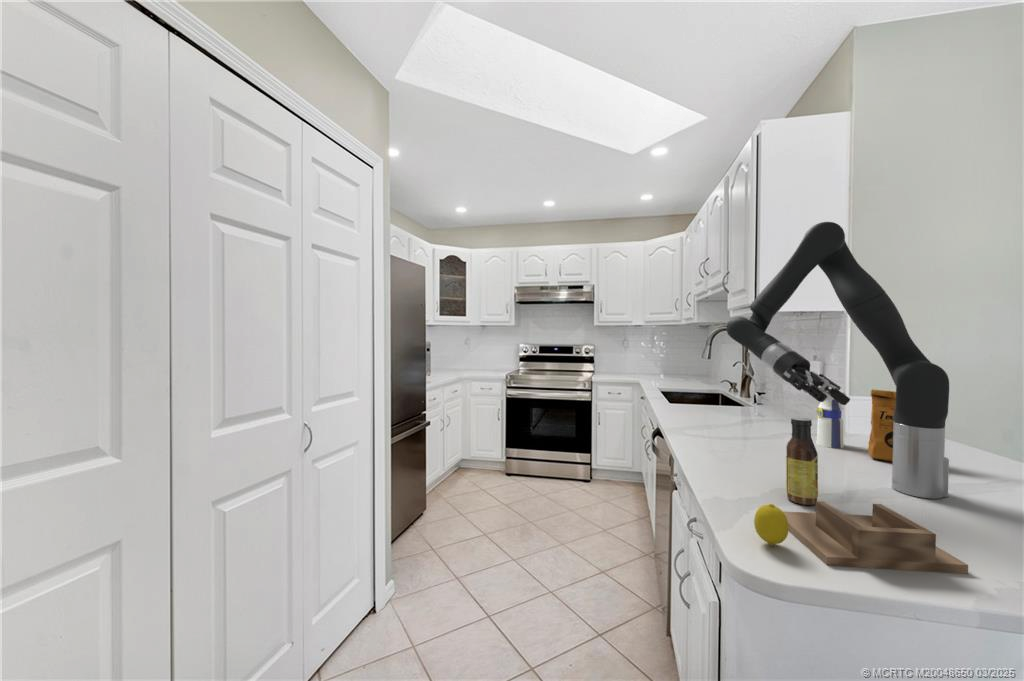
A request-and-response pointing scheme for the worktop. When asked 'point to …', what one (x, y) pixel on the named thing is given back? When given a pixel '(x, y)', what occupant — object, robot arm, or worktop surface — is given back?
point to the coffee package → (882, 425)
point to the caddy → (870, 540)
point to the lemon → (771, 524)
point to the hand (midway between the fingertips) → (835, 400)
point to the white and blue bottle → (830, 423)
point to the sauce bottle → (801, 464)
